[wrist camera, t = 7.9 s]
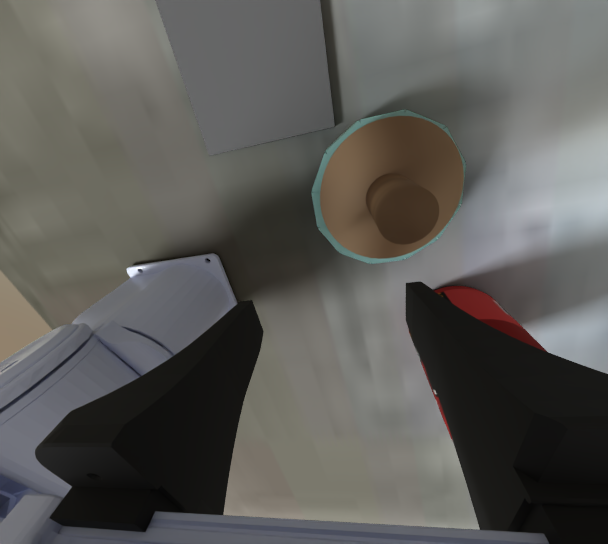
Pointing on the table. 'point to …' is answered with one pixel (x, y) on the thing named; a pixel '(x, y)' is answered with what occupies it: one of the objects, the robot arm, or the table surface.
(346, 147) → the lid
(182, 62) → the mat
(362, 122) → the bowl
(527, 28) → the table surface
